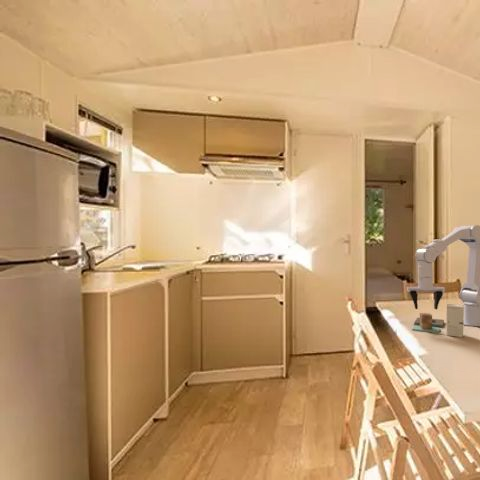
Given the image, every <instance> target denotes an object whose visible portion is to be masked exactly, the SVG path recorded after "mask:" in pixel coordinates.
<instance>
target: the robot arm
mask: <svg viewBox="0 0 480 480" xmlns="http://www.w3.org/2000/svg"><path fill="white" fill-rule="evenodd" d="M457 241H460V242H463V243H464V244H465V245H467V246H468V248H469V249H468V258H467V259H468V260H467V261H468V263H467V273H466V275H467V276H466V282H465V283H463V284H462V285H461V289H460V292H459V299H460V301H461V302H462V304H463V305H464V323H463V326H470V327H471V326H472V327H480V225H478V224H477V225H476V224H475V225H458V226H456V227H454V228H453V230H452V231H451V232H450V233H448V234H447V235H446V236H444V237H443V238H442V239H433V240H432V242H431V243H429V244H427V245H425V246H424V247H423V248H419V249H417V250H416V251H415V254H414V255H413V256H414V259H415V261H416V265H417V286H406V292H408V293H409V295H410V297H411V299H412V301H413V305H414V309H415V310H418V309H419V308H418V307H419V306H418V292H419V293H433V299H434V301H433V302H434V303H433V307H434V310H438V307H439V304H440V301H441V299H442V297H443V295H444V293H446V287H444V286H434V269H433V267H434V263H433V262H435V261H436V259H437V257H438V256H439V255H441V254H443V253H444V252H445V251H446V250H447V248H448V246H450V245H452V244H453V243H455V242H457Z"/></svg>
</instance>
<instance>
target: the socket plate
mask: <svg viewBox="0 0 480 480" xmlns="http://www.w3.org/2000/svg"><path fill="white" fill-rule="evenodd" d="M413 323H414V324H413V326H414V325H417V326H420V317H416V319H415V321H414V322H413ZM444 323H445V320H444V319H440V318H439V319H438V318H432V327H437V328H440V329H441V328H443V325H444Z"/></svg>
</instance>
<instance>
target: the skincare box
mask: <svg viewBox="0 0 480 480" xmlns="http://www.w3.org/2000/svg"><path fill="white" fill-rule="evenodd" d="M463 323H464V304H463V305H462V304H453V303H447V304H446V331H445V332H446V336H451V337H460V338H463V337H464V325H463Z"/></svg>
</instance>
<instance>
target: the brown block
mask: <svg viewBox="0 0 480 480" xmlns="http://www.w3.org/2000/svg"><path fill="white" fill-rule="evenodd" d="M419 318H420V327H421V329H431V330H432V319H433V315H432V314H431V313H430V312H428V313H427V312H419Z"/></svg>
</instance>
